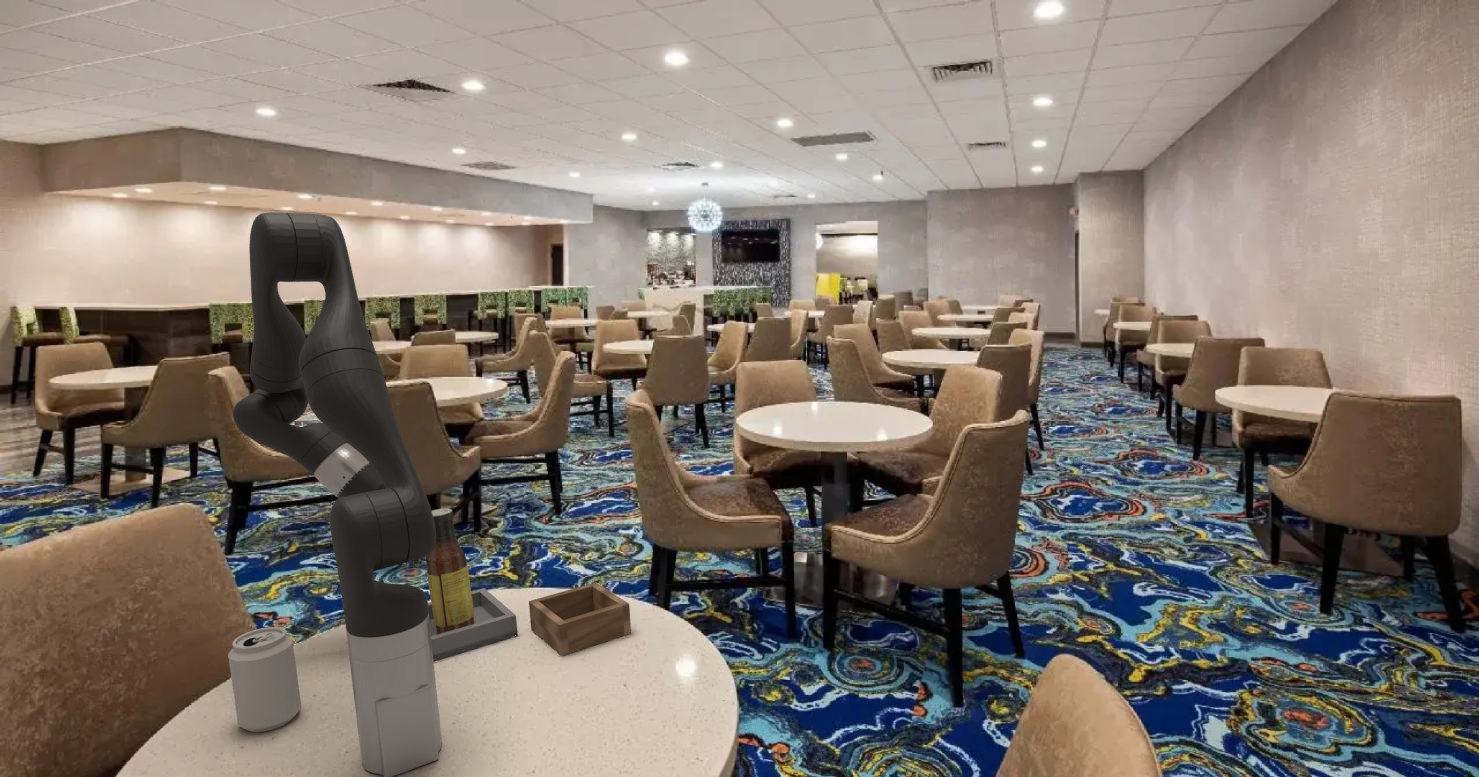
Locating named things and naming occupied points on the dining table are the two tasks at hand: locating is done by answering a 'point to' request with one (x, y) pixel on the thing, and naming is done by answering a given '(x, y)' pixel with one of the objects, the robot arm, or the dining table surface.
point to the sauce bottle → (448, 577)
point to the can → (264, 679)
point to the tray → (475, 627)
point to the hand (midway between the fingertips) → (432, 543)
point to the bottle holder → (579, 618)
